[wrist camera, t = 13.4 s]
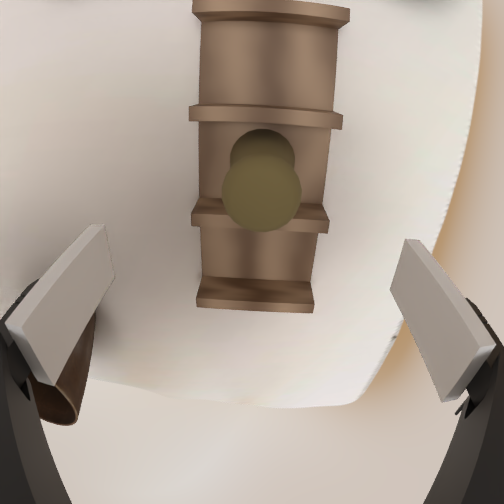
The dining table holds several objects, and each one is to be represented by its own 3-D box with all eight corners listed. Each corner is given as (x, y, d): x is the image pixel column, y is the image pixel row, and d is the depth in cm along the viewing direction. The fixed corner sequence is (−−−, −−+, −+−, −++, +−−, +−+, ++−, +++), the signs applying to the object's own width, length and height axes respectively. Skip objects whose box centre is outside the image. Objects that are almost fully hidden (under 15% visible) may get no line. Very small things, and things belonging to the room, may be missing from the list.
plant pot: (27, 251, 36) (-40, 324, 22) (116, 276, 37) (60, 373, 23) (44, 327, 43) (0, 398, 29) (122, 352, 44) (88, 438, 30)
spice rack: (204, 279, 36) (196, 307, 32) (204, 12, 22) (192, -1, 18) (307, 285, 36) (312, 313, 32) (336, 20, 22) (349, 8, 18)
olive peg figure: (234, 194, 30) (220, 250, 21) (225, 132, 27) (203, 160, 18) (297, 187, 30) (313, 242, 20) (291, 125, 27) (308, 148, 17)
